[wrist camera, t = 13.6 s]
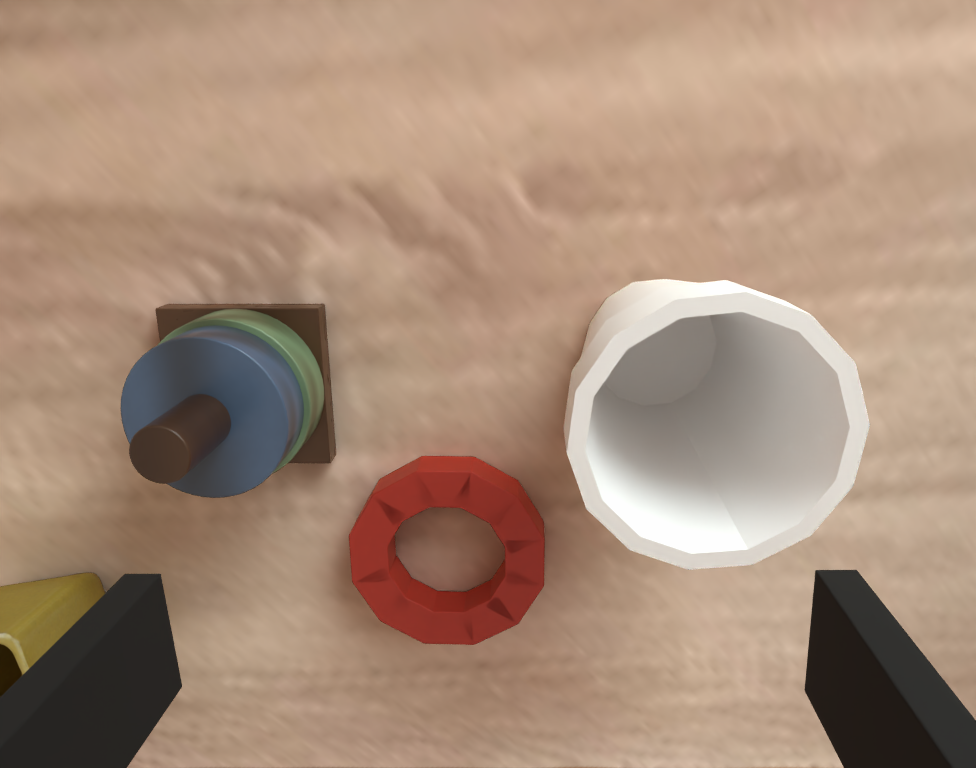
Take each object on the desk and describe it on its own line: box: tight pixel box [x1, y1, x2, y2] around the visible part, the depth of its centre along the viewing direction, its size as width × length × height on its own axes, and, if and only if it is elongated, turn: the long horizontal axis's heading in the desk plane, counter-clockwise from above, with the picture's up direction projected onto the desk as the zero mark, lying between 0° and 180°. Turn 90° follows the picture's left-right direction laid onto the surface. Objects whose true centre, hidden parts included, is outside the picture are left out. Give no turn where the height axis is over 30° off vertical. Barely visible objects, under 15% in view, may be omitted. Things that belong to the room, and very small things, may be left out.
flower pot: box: [0, 573, 105, 697], centre depth 38 cm, size 9×9×9 cm
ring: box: [349, 456, 545, 645], centre depth 39 cm, size 10×10×2 cm
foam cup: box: [564, 279, 870, 570], centre depth 30 cm, size 10×9×13 cm
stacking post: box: [121, 304, 336, 498], centre depth 33 cm, size 8×8×10 cm
